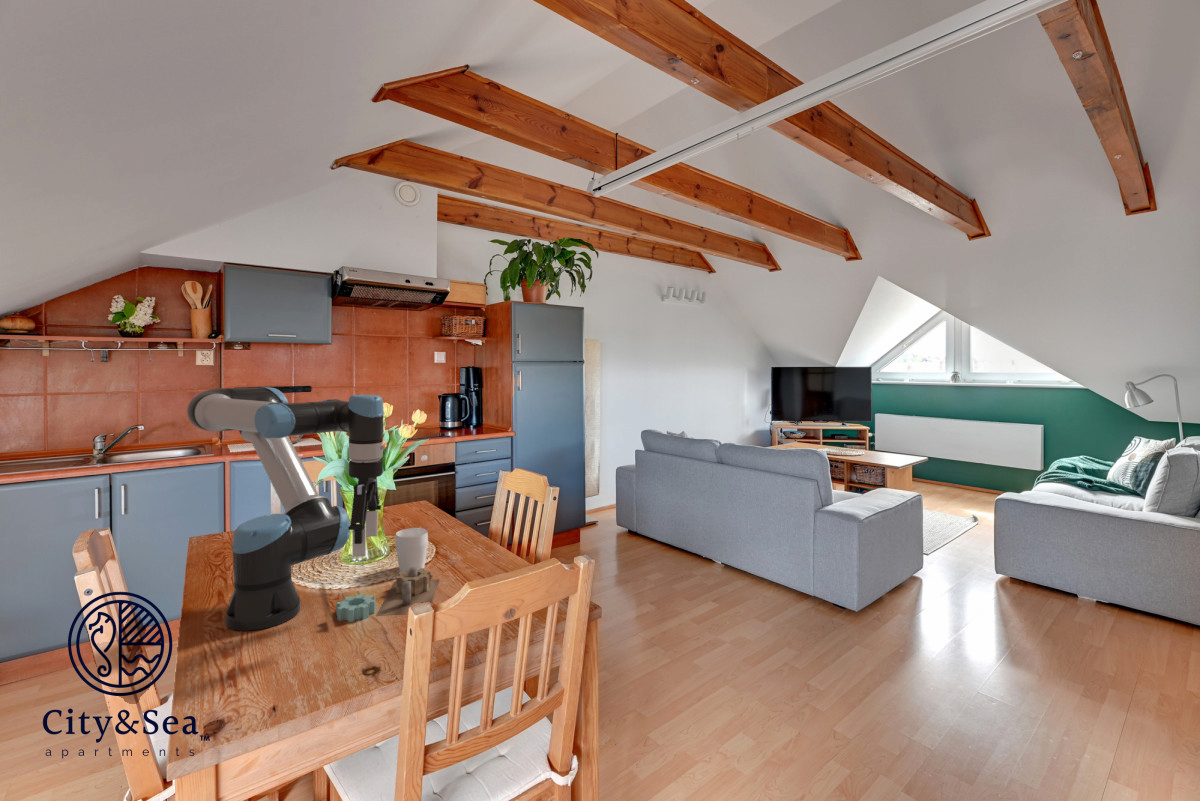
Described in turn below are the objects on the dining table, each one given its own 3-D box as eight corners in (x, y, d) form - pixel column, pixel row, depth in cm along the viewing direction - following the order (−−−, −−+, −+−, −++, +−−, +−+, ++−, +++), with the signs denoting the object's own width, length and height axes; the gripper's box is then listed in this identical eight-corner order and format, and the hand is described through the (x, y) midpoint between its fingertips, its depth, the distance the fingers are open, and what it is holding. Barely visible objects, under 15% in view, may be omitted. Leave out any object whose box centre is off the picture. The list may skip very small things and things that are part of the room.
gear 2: (400, 598, 135) (399, 583, 135) (393, 586, 142) (393, 571, 142) (434, 591, 139) (434, 576, 139) (426, 579, 147) (425, 565, 146)
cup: (417, 580, 149) (417, 538, 149) (389, 577, 151) (388, 536, 150) (433, 568, 158) (433, 529, 157) (406, 565, 160) (406, 526, 159)
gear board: (376, 620, 126) (375, 593, 125) (394, 585, 145) (394, 562, 145) (428, 617, 128) (428, 590, 127) (439, 583, 147) (439, 560, 147)
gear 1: (331, 627, 122) (330, 611, 122) (342, 610, 130) (342, 595, 130) (370, 625, 123) (370, 609, 123) (379, 608, 132) (379, 593, 131)
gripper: (372, 470, 115) (371, 565, 117) (391, 450, 139) (390, 528, 141) (334, 470, 113) (334, 566, 115) (361, 450, 137) (360, 529, 139)
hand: (365, 545), depth 128 cm, fingers open, 13 cm apart
